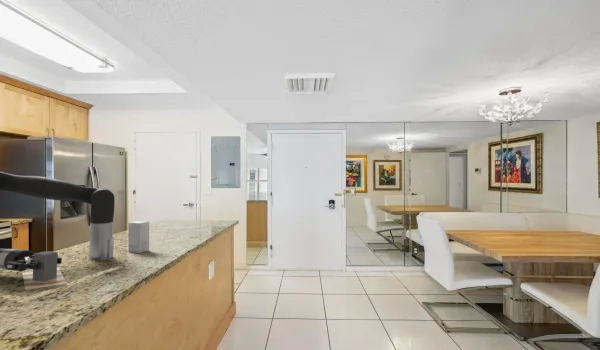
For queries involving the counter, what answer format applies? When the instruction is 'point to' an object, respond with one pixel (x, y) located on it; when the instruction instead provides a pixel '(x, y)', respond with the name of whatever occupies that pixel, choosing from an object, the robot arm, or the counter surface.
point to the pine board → (33, 285)
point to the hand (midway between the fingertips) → (50, 263)
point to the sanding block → (45, 267)
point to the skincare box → (138, 236)
